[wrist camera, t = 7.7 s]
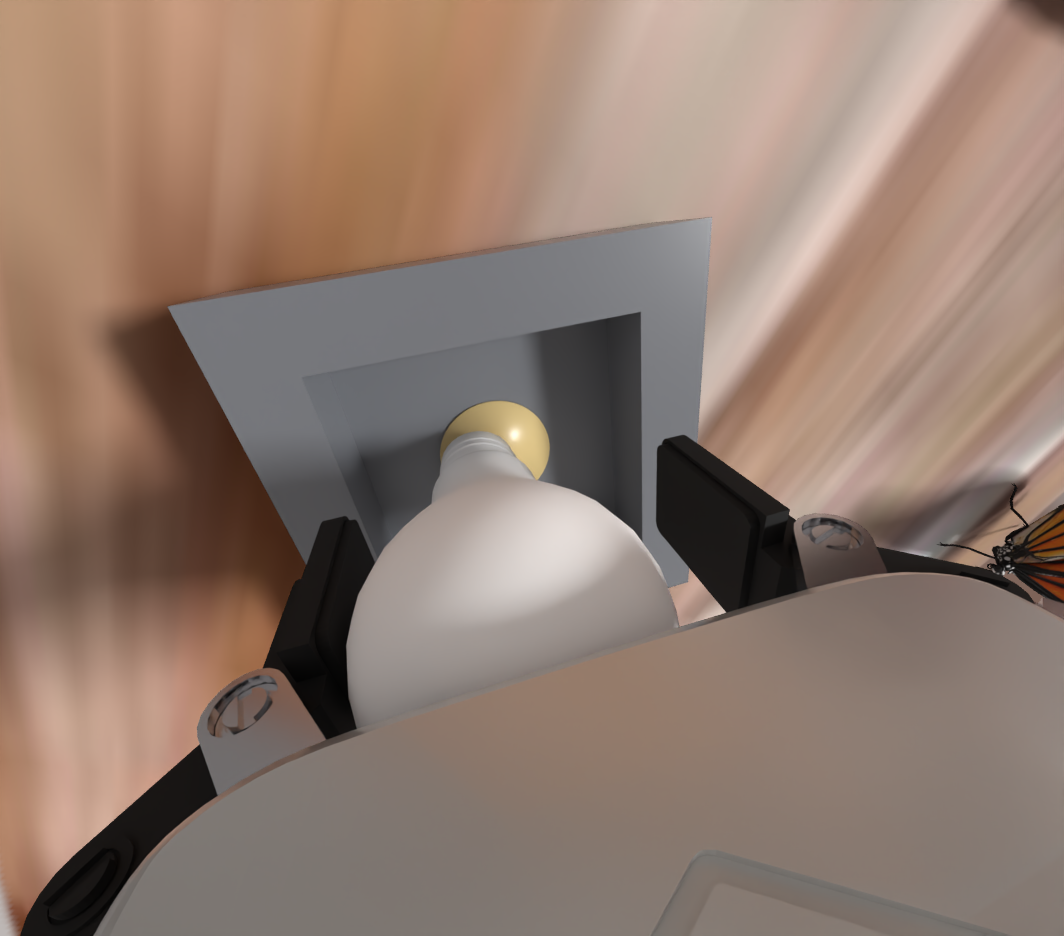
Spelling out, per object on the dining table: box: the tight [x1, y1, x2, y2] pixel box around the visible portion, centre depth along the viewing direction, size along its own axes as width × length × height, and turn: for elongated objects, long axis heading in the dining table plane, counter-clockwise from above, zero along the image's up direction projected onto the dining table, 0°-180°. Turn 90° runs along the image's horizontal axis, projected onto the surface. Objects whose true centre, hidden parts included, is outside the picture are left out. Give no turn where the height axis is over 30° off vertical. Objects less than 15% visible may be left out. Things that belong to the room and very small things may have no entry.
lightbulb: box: [346, 431, 679, 729], centre depth 10 cm, size 6×6×11 cm
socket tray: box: [168, 217, 712, 588], centre depth 15 cm, size 13×13×3 cm
